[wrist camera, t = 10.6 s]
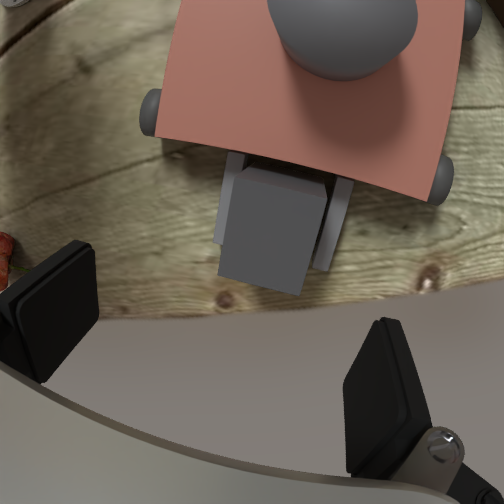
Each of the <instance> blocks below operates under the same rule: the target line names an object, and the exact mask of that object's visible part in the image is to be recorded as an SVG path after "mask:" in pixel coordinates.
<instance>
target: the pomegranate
mask: <svg viewBox="0 0 504 504" xmlns="http://www.w3.org/2000/svg"><path fill="white" fill-rule="evenodd" d="M14 243H15V241H14V239H13V237H11V236H10V235H8V234H6V233H4V232H0V291H3V290H4V289H6V288H7V286H8V274H9V273H10V272H11V270H12V269H18V270H22V271H26V272H29V271H31V270H28V269H25V268H24V267H16V266H14V265H13V259H12V258H13V255H12V250H13V248H14Z"/></svg>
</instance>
